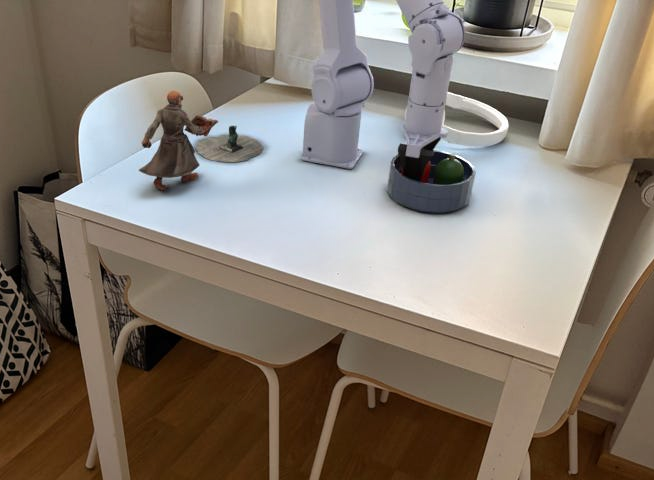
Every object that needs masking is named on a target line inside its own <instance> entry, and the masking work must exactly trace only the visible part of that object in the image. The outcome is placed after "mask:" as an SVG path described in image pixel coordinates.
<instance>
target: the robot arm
mask: <svg viewBox="0 0 654 480" xmlns="http://www.w3.org/2000/svg"><path fill="white" fill-rule="evenodd" d="M395 1H396V3H397V5H398V8H399V10H400V12H401V13H402V15H403V17H404V20H405V22H406V24H407V26H408V28H409V30H410V32H411V34H410V35H408V38H407V41H408V48H409V52H410V55H411V64H410V65H411V66H410V67H412V71H411V78H410V84H409V93H408V99H407V105H406V108H407V112H406V119H405V118H404V124H403V125H402V134H403V136H404V138H405V142H406V143H401V142H400V143H399V144H398V147H397V154H398V155H399V157H400V159H401V163H402V168H403V176H406V177H408V178H410V179H412V180H415V181H419V182H421V179H422V176H423V172H424V170H425V167H426V165H427V164H428V162H429V161H430V160H431V158H432V157H433V155H434V153H435V151H433V150H435V148H436V146H437V145H438V144H439V142H441V140H442V139H441V138H446V137H447V135H448V130H447V129H442V128H441V126H442V120H443V115H444V110H445V109H446V108H445V107H446V105H445V103H446V98H447V92H449V86H450V81H451V75H452V70H453V63H454V58H455V54H456V53H458V52H459V51H460V50H461V49H462V47H463V46H464V43H465V39H466V29H465V26H464V21H463V19H462V17H461V16H460V15H458V14H457V13H455V12H452V11H451V10H450V8H449V7H448V6H447V5H446V4H445V2H444V1H443V0H395ZM318 6H319V7H318V8H319V18H320V29H321V38H322V45H323V46H322V47H323V50H322V52H321V54H320V56H319V57H318V58H317V60H316V61H315V62H314V63H313V66H312V70H313V72H312V73H313V78H312V83H311V87H310V88H311V97H312V101H313V103H310V104H309V106H308V108H307V109H306V113H305V119H304V125H303V141H302V156H301V157H300V159H301V160H302V161H304V162H310V163H315V164H322V165H326V166H332V167H337V168H343V169H347V170H353V169H354V168H355V166H356V165H357V164H358V161H359V159H360V158H361V157H362V155H363V154H364V150H363V149H360V148H359V139H360V131H361V120H362V111H363V108H365V104H366V101H367V100H369V99H370V98H371V96H372V95H373V91H374V88H375V84H374V82H375V80H374V77H373V73H372V72H371V69H370V67H369V59H368V55H367V54H366V53H365V52H364V51H362V50H361V48H359V47H358V44H357V31H356V20H355V7H354V0H318Z"/></svg>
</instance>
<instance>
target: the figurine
mask: <svg viewBox="0 0 654 480" xmlns="http://www.w3.org/2000/svg"><path fill="white" fill-rule="evenodd" d="M166 100H167V102H168V104H166V105H165V106H164V107H163V108H161V109H159V110H157V112H156V116H155V118H154V120H153V121H152V123H151V124H150V125H149V127H148V128H147V130H146V132H145V133H144V137H143V139H142V140H141V146H142V147H143V149H150V148H151V147H152V146H153V144H152V142H151V140H152V139H153V137H154V135H155V133H156V131H157V129H158V128H159V127H160V125H161V128H162V130H163V135H162V136H161V138H160V141H159V145H158V147H157V150H156V152H155V153H154V154H153V156H152V158H151V160H149V162H148V163H147V164H145V165H144V166H142V167H141V168H139V169H138V172H140V173H141V174H145V175H147V176H150V177H154V180H153V184H152V185H153V186H154V187H155V189H156V190H160V191H166V190H167V187H166V185H165V184H163V183H164V182H163V179H167V178H168V179H172V178H180V181H181V182H182V183H187V182H192V181H195V180H197V179H198V178H199V174H198V172H194V171H195V170H196V169H198V168H199V167H200V163H199V161H198V159H197V157H196V154H195V153H196V149H195V147H194V146H193V144H192V143H191V141H190V138H189V137H188V135H187V134H186V133H185V132H188V133H189V134H191V135H193V136H195V137H198V136H199V137H201V136H203V137H204V138H206V137H208V135H209V134H210V132H211V130H212V129H213V128H214V126H216V125H217V124H218V123H219V120H218V119H214V118H213V119H212V118H209V117H208V118H207V117H206V116H203V115H200V114H197V115H195V116H194V117H193V118H192V120H190V118H189V114H188V113H186V111H184V110H183V109H182V108H183V105H182V101H183V100H184V97H183V95H181V93H180V92H179V91H177V90H171V91H169V92H168V93H167V95H166ZM184 131H185V132H184Z"/></svg>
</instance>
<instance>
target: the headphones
mask: <svg viewBox="0 0 654 480" xmlns="http://www.w3.org/2000/svg"><path fill="white" fill-rule="evenodd" d="M445 106H447V107H450V108H451V109H456V110H461V111H465V112H468V113H470V114H473V115H476V116H478V117H481V118H483V119H485V120H486V121H488V122H490V123H491V124H493V125H494V126H495V127H496V128H497V130H494V131H491V132H485V133H484V132H483V133H482V132H481V133H480V132H478V133H477V132H470V131H469V132H467V131H461V130H460V129H454V128H453V127H450V126H448V125H444V124H445V122H446V121H445V120H446V111H445V109H444V115H443V120H442V126H441V128H442V129H447V130H448V135H447V137H446V138H441V139H440V140H443V141H444V142H447V144H452V145H454V144H455V145H460V146H463V147H464V146H465V147H488V146H493V145H496V144H497V145H498V144H499V143H501V142H502V141H503V140H504V139H505V138H506V137H507V134H508V132H509V126H510V125H509V124H510V123H509V121H508V118H507V117H506V116H505V115H504V114H502V113H501V112H500V111H498V110H497V109H496V108H493V107H492V106H490V105H489V104H486V103H483V102H481V101H479V100H476V99H473V98H470V97H466V96H462V95H460V94H455V93H453V92H450V91H448V92H447V98H446V103H445ZM406 112H407V107H406V108H405V111H404V120H405V119H406Z"/></svg>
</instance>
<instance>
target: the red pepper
mask: <svg viewBox="0 0 654 480" xmlns="http://www.w3.org/2000/svg"><path fill="white" fill-rule="evenodd" d="M430 169H431V164H430V161H429V162H428V164H427V165H426V167H425V170H424V172H423V176H422V179H421V182H423V183H428V180H429V175H430ZM401 174H402V175H403V168H402V170H401Z"/></svg>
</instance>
